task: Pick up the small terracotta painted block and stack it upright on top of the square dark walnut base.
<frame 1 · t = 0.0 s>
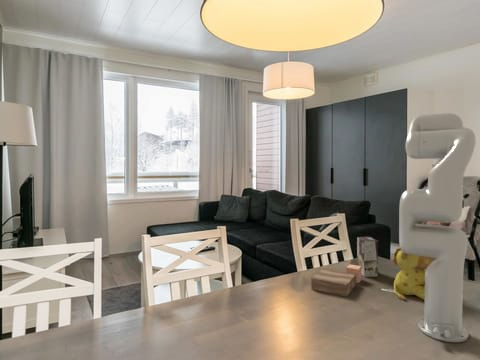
hand: (446, 209, 133), 31 cm above the table, tool pointing down, fingers open, 9 cm apart
terracotta block: (353, 280, 140), on the table
coffee box: (367, 273, 148), on the table
walnut base: (333, 286, 132), on the table
giraffe plush: (416, 293, 126), on the table
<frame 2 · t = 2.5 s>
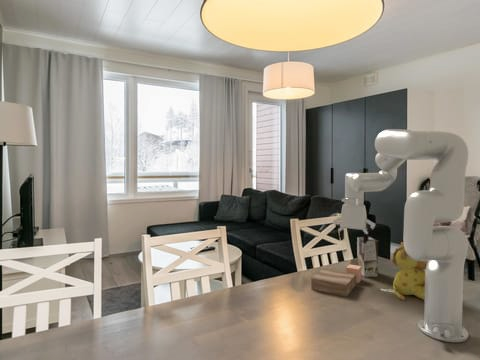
hand: (353, 241, 139), 17 cm above the table, tool pointing down, fingers open, 9 cm apart
nothing on the table moved.
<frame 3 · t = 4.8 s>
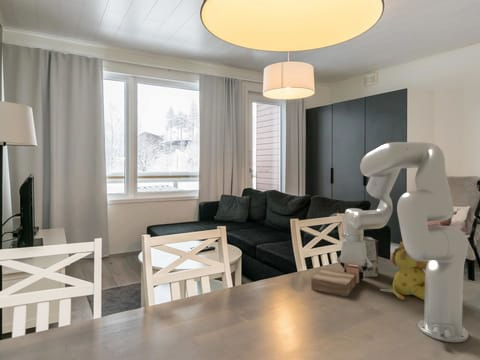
hand: (353, 278, 140), 1 cm above the table, tool pointing down, fingers closed on terracotta block, 4 cm apart
terracotta block: (353, 280, 140), on the table, touching gripper
everything else where it was.
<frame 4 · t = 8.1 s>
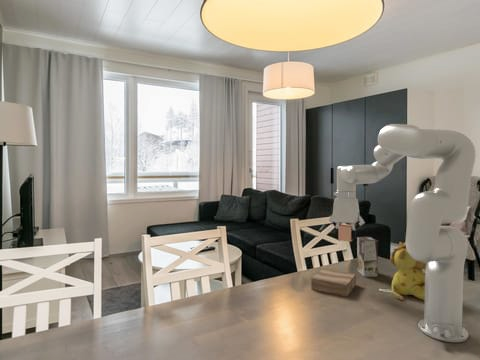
hand: (346, 238, 136), 19 cm above the table, tool pointing down, fingers closed on terracotta block, 4 cm apart
terracotta block: (346, 239, 136), point 18 cm above the table, touching gripper
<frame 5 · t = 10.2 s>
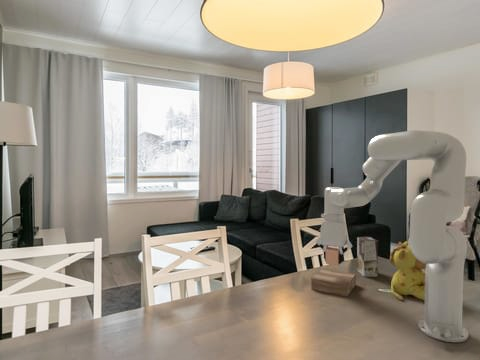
hand: (333, 261, 132), 11 cm above the table, tool pointing down, fingers closed on terracotta block, 4 cm apart
terracotta block: (333, 263, 132), point 10 cm above the table, touching gripper
when the fingers open (7 cm above the table, at t = 11.7 s): terracotta block drops 2 cm, resting on walnut base.
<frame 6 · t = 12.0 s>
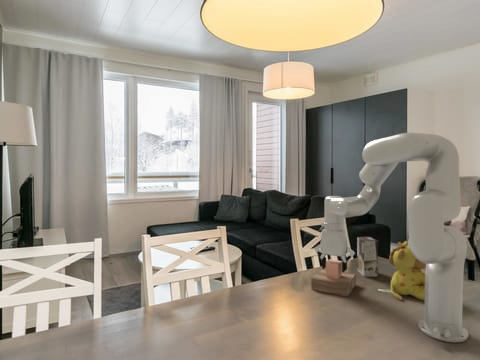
hand: (333, 269, 132), 7 cm above the table, tool pointing down, fingers open, 7 cm apart
terracotta block: (333, 276, 132), point 4 cm above the table, touching walnut base
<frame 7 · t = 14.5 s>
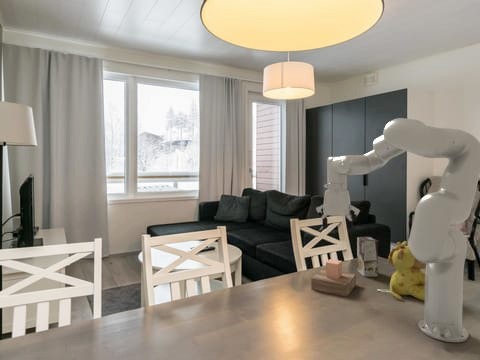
hand: (337, 229, 131), 24 cm above the table, tool pointing down, fingers open, 9 cm apart
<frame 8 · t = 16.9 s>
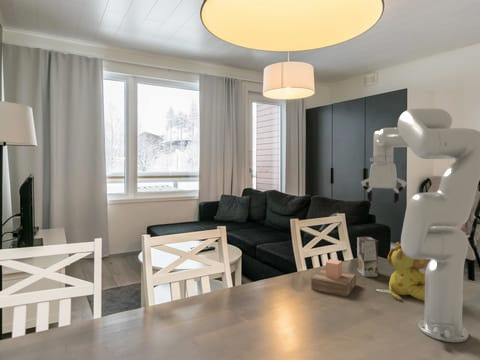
hand: (382, 202, 134), 34 cm above the table, tool pointing down, fingers open, 9 cm apart
at the end: terracotta block inside the target area on the walnut base (0.0 cm from its centre), point 4.5 cm above the walnut base's base; terracotta block tilted 0°; the gripper is holding nothing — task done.
